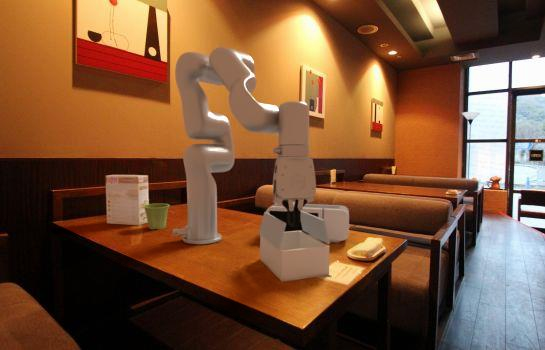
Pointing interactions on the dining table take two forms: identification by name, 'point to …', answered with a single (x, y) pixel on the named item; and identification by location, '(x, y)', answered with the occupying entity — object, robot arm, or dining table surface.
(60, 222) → the dining table surface
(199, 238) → the robot arm
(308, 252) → the carton
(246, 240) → the dining table surface
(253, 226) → the dining table surface
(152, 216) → the plant pot
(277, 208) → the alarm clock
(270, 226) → the near flap
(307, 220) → the far flap
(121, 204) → the coffeecake box
